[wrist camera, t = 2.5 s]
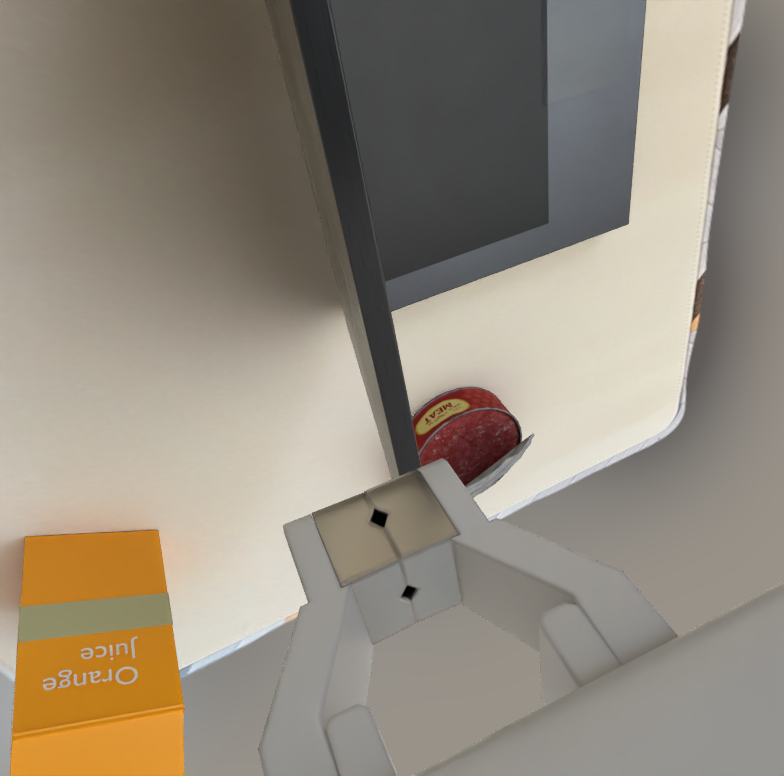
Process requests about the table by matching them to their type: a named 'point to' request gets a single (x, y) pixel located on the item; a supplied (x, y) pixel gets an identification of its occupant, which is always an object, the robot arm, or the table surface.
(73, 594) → the orange juice
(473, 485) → the canned food
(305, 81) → the laptop screen
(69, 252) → the table surface
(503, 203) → the laptop
